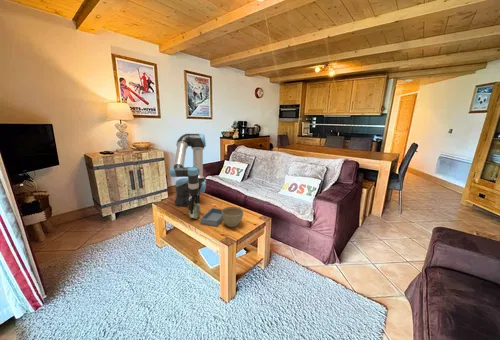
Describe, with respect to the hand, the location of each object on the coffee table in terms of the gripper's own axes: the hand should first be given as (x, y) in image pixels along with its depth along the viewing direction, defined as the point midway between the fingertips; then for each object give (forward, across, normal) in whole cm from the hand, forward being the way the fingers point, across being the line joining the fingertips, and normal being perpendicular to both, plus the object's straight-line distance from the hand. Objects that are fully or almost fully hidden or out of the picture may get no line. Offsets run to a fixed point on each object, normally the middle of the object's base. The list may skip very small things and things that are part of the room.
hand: (194, 215), depth 159 cm
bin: (+3, +4, -15) cm, 16 cm away
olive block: (+1, 0, 0) cm, 1 cm away
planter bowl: (+3, +1, -31) cm, 31 cm away
